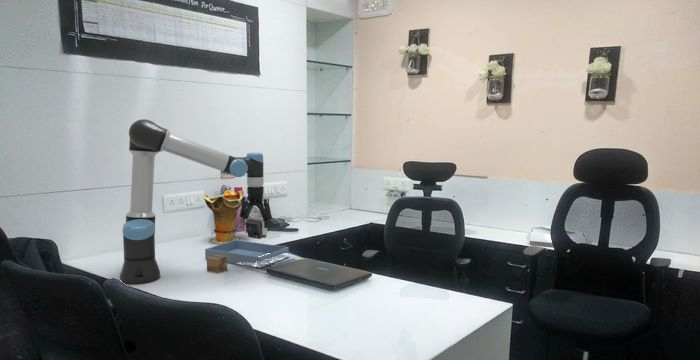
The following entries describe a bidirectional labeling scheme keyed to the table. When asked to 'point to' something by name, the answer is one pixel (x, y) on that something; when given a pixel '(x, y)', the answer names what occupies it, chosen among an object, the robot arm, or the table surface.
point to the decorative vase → (224, 215)
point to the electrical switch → (254, 228)
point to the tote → (245, 251)
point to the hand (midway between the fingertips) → (255, 233)
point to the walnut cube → (216, 263)
